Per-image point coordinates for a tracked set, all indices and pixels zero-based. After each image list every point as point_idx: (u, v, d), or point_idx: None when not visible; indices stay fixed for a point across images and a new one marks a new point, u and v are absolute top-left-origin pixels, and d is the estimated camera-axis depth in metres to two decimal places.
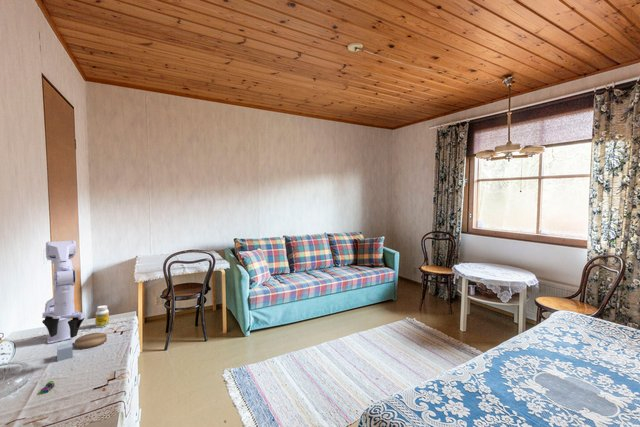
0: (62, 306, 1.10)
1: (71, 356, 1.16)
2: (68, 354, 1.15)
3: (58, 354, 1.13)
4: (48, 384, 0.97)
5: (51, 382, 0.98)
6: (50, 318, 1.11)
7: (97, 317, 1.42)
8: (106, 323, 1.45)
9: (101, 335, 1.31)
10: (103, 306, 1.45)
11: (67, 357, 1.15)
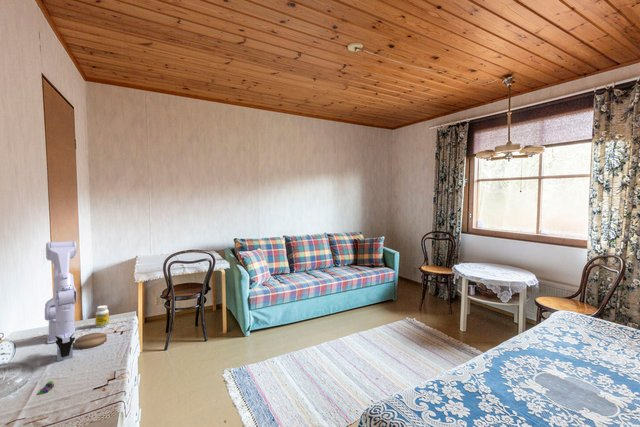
0: (57, 325, 1.13)
1: (71, 356, 1.16)
2: None
3: (58, 354, 1.13)
4: (48, 384, 0.97)
5: (51, 382, 0.98)
6: None
7: (97, 317, 1.42)
8: (106, 323, 1.45)
9: (101, 335, 1.31)
10: (103, 306, 1.45)
11: (67, 357, 1.15)
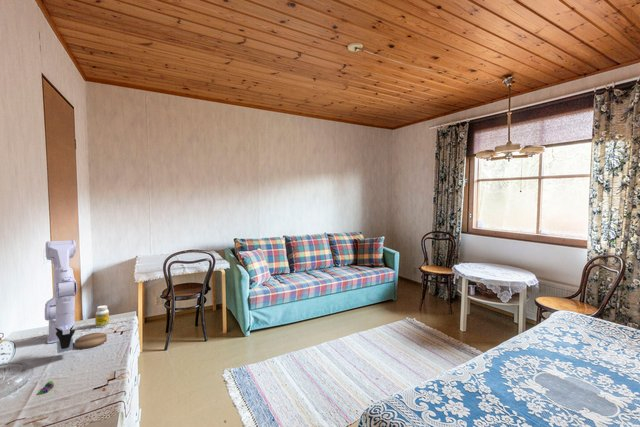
0: (57, 316, 1.13)
1: (71, 348, 1.16)
2: None
3: (58, 346, 1.13)
4: (47, 384, 0.97)
5: (50, 382, 0.98)
6: None
7: (97, 317, 1.42)
8: (106, 323, 1.45)
9: (101, 335, 1.31)
10: (103, 306, 1.45)
11: (67, 349, 1.15)
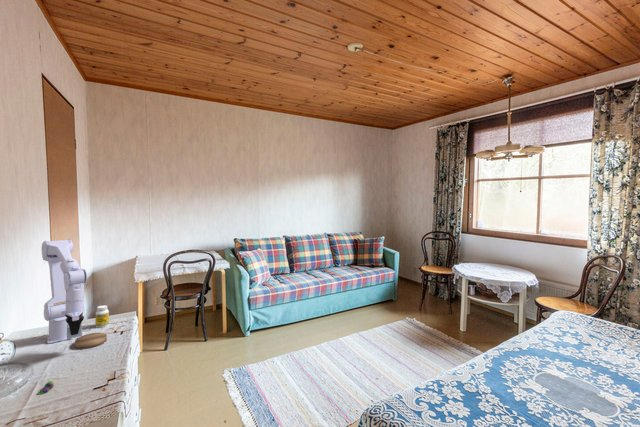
0: (67, 303, 1.17)
1: (80, 335, 1.19)
2: (78, 332, 1.19)
3: (68, 332, 1.17)
4: (47, 384, 0.97)
5: (50, 382, 0.98)
6: None
7: (97, 317, 1.42)
8: (106, 323, 1.45)
9: (101, 335, 1.31)
10: (103, 306, 1.45)
11: (76, 335, 1.19)
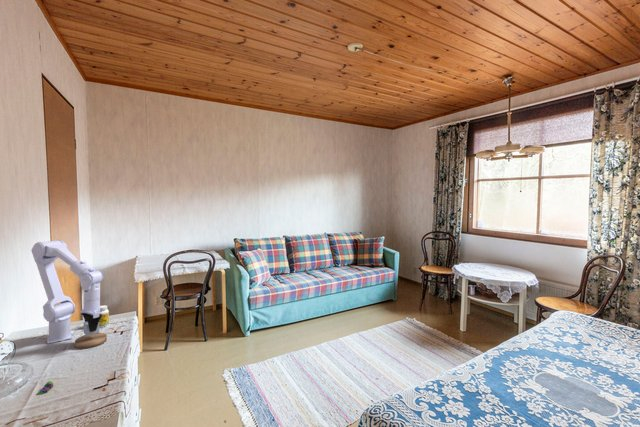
0: (85, 303, 1.25)
1: (98, 331, 1.28)
2: (96, 329, 1.27)
3: (87, 329, 1.25)
4: (47, 384, 0.97)
5: (50, 382, 0.98)
6: None
7: None
8: (106, 323, 1.45)
9: (101, 335, 1.31)
10: (103, 306, 1.45)
11: (94, 332, 1.27)
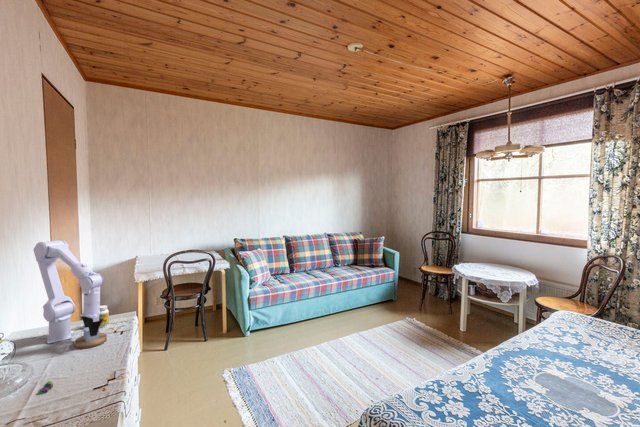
0: (85, 306, 1.25)
1: (98, 337, 1.28)
2: None
3: (87, 335, 1.25)
4: (47, 384, 0.97)
5: (49, 382, 0.98)
6: None
7: None
8: (106, 323, 1.45)
9: (101, 335, 1.31)
10: (103, 306, 1.45)
11: (94, 337, 1.27)
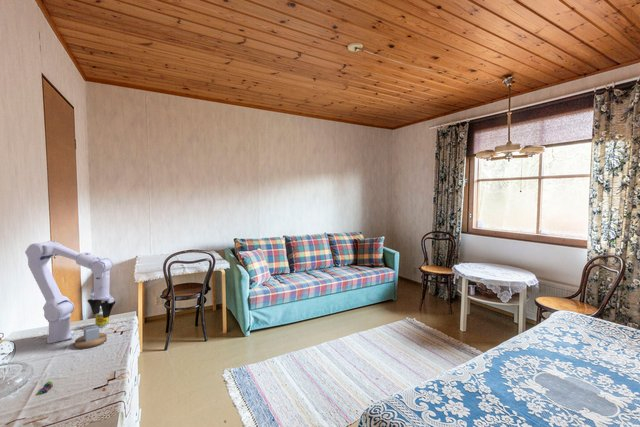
0: (97, 289, 1.29)
1: (98, 337, 1.28)
2: (95, 334, 1.27)
3: (87, 335, 1.25)
4: (46, 384, 0.97)
5: (49, 382, 0.97)
6: None
7: (97, 317, 1.42)
8: (106, 323, 1.45)
9: (101, 335, 1.31)
10: None
11: (94, 337, 1.27)
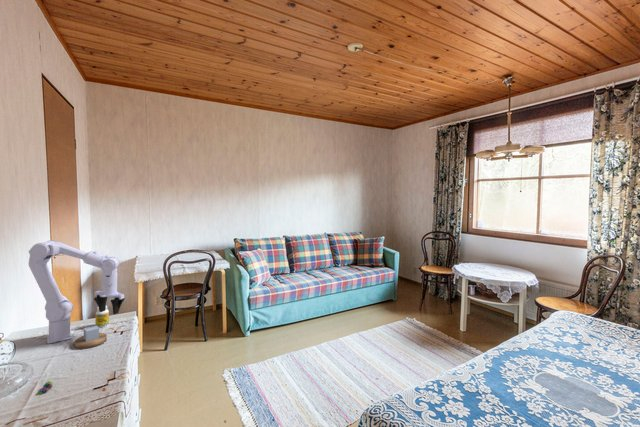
0: (107, 287, 1.33)
1: (98, 337, 1.28)
2: (95, 334, 1.27)
3: (87, 335, 1.25)
4: (46, 385, 0.97)
5: (49, 382, 0.97)
6: (100, 296, 1.36)
7: (97, 317, 1.42)
8: (106, 323, 1.45)
9: (101, 335, 1.31)
10: None
11: (94, 337, 1.27)
